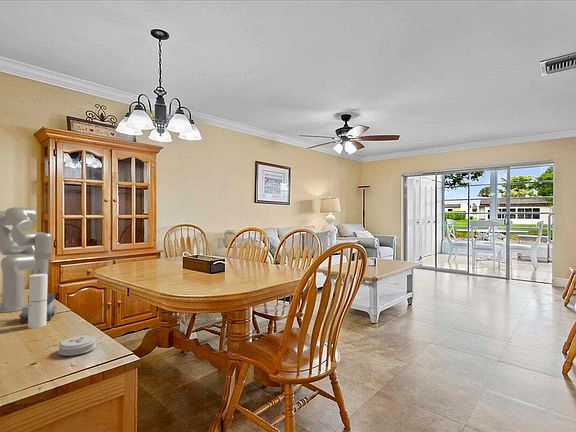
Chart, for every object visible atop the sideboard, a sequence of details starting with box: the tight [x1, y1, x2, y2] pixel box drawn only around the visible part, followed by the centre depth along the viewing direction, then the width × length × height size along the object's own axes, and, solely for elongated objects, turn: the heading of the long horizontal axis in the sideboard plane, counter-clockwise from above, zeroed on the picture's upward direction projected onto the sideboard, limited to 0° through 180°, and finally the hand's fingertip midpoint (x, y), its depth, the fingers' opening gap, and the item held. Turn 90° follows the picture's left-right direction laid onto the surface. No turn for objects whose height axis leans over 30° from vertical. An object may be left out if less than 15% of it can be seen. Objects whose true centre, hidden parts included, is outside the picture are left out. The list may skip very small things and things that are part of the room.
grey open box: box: [18, 293, 57, 324], centre depth 166 cm, size 12×13×12 cm
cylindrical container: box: [27, 273, 49, 329], centre depth 156 cm, size 7×7×25 cm
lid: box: [57, 335, 97, 356], centre depth 127 cm, size 13×13×5 cm
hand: (40, 289), depth 172 cm, fingers closed
